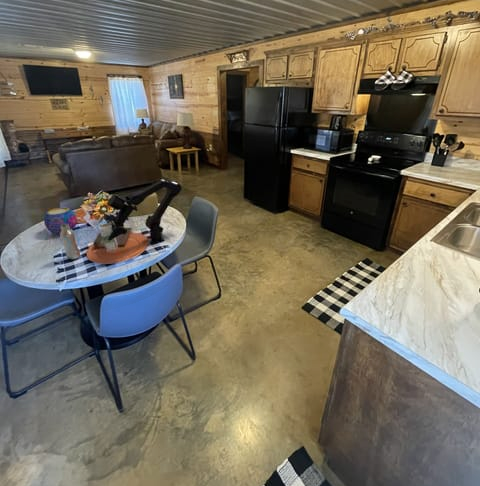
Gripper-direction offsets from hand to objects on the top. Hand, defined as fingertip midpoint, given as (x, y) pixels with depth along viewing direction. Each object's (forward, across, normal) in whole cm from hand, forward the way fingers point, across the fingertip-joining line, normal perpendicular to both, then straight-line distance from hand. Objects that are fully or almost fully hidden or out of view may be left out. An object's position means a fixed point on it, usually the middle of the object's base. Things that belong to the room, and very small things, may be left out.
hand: (106, 237), depth 142 cm
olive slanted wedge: (+3, -18, +13) cm, 22 cm away
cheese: (-17, -44, +33) cm, 58 cm away
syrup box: (+4, 0, +6) cm, 7 cm away
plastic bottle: (+19, -10, -4) cm, 22 cm away
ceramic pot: (+19, -49, -3) cm, 53 cm away
